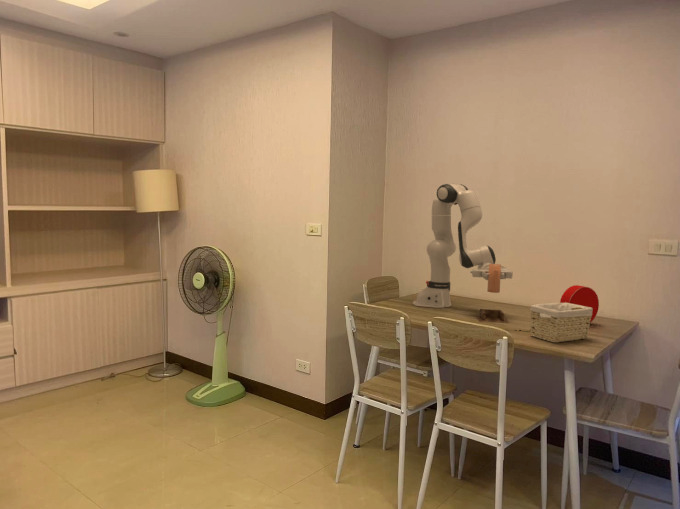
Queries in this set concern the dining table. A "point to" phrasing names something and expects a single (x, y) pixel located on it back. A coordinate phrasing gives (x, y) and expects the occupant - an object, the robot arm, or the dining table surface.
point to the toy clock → (581, 298)
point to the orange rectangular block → (494, 278)
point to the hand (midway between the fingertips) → (494, 275)
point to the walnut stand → (491, 316)
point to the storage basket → (560, 321)
